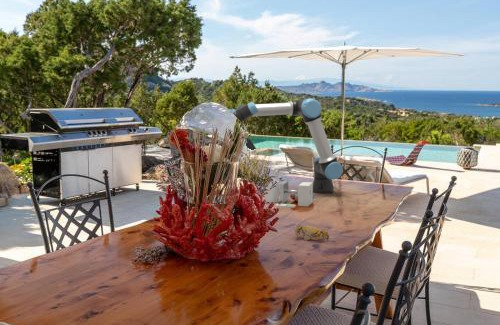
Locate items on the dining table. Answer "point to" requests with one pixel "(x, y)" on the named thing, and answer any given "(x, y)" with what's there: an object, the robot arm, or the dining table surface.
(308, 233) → the crab model
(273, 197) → the candle holder
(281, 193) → the gauge plunger
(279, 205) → the gauge housing
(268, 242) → the dining table surface
